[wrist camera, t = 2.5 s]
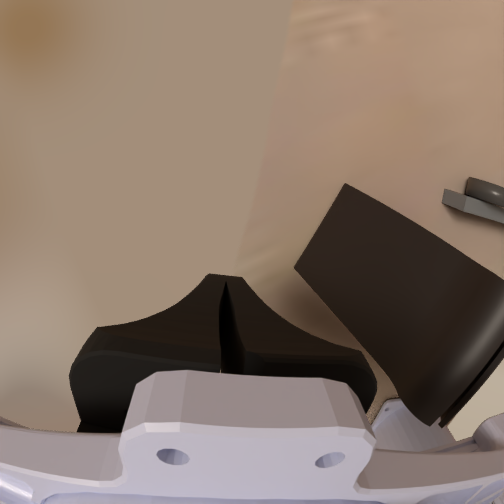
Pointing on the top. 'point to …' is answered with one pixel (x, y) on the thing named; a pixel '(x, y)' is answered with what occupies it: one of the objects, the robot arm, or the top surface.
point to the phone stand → (408, 302)
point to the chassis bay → (477, 206)
